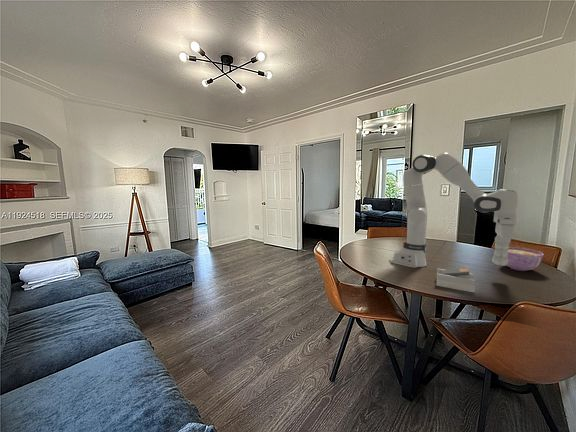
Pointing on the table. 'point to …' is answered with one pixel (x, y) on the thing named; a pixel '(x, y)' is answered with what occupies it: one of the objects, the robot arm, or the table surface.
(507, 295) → the table surface
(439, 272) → the box
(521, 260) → the bowl of food
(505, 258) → the plastic bottle
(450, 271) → the gray and orange tool
